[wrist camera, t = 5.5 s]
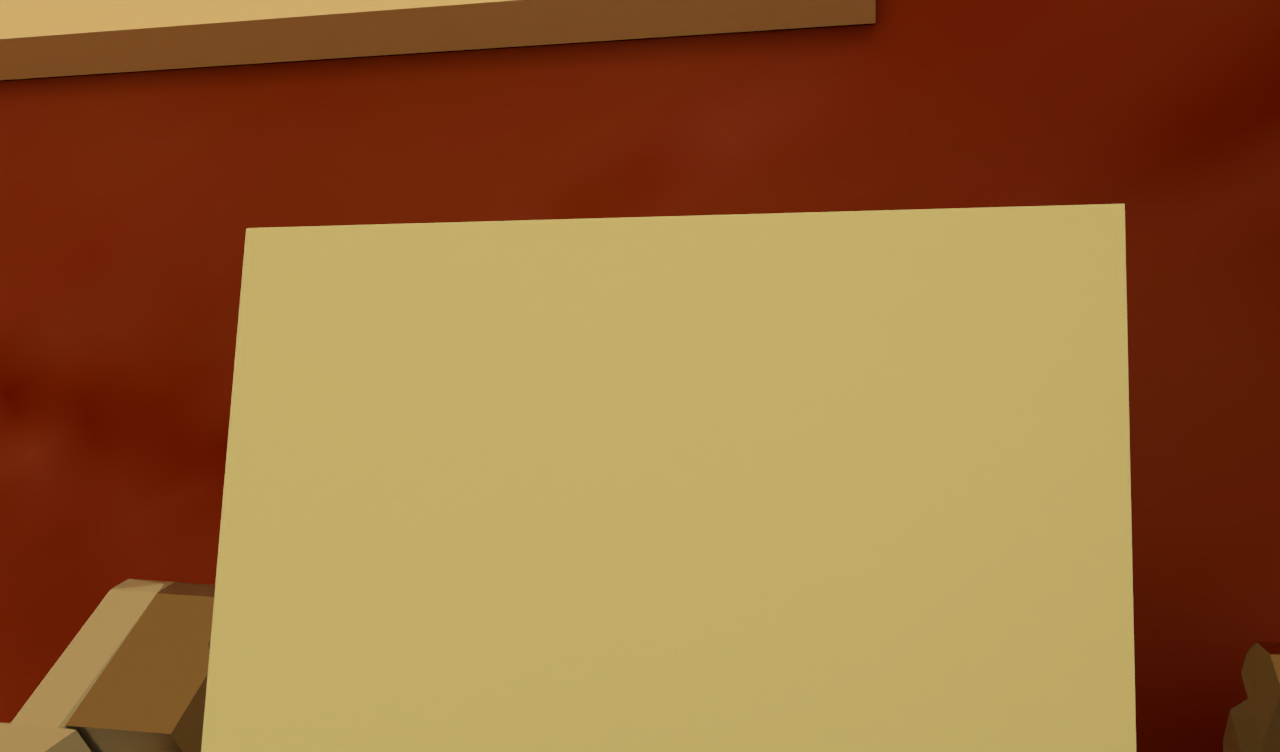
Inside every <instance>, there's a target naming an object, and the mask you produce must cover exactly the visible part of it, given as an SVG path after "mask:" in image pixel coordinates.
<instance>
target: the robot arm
mask: <svg viewBox="0 0 1280 752" xmlns="http://www.w3.org/2000/svg"><path fill="white" fill-rule="evenodd" d="M214 595H215V585H207V584H195V583H183V582H167V581H153V580H138V579H128V580H126V581H124V582H122V583H121V584H119V585H117V586H116V587H114V588H112V589H111V590H110V591H109V592H108V594H107V595H106V596H105V598H104V599H103V600H102V602H101V603H100V604H99V606H98V607H97V608H96V610H95V611H94V612H93V614H92V615H91V616H90V618H89V619H88V620H87V622H86V623H85V624H84V626H83V627H82V628H81V630H80V631H79V632H78V634H77V635H76V636H75V638H74V639H73V640H72V642H71V643H70V644H69V646H68V647H67V648H66V650H65V651H64V652H63V654H62V655H61V656H60V658H59V659H58V660H57V662H56V663H55V664H54V666H53V667H52V668H51V670H50V671H49V673H48V674H47V675H46V677H45V678H44V679H43V681H42V682H41V683H40V685H39V686H38V687H37V689H36V690H35V691H34V693H33V694H32V695H31V697H30V698H29V699H28V701H27V702H26V703H25V705H24V706H23V707H22V709H21V710H20V711H19V713H18V714H17V715H16V717H15V718H14V719H13V721H12V722H11V723H5V722H0V752H201V746H202V734H203V723H204V711H205V699H206V688H207V676H208V665H209V653H210V642H211V630H212V619H213V607H214ZM1241 675H1242V679H1243V683H1244V686H1245V690H1246V693H1247V697H1248V699H1246V700H1245V701H1243V702H1242V703H1240V704H1238V705H1237V706H1235V707H1234V708H1232V709H1230V712H1229V716H1228V720H1227V724H1226V728H1225V732H1224V737H1223V752H1280V643H1275V642H1256V643H1255V644H1254V645H1253V646H1252V647H1251V648H1250V649H1249V650H1248V652H1247V655H1246V658H1245V661H1244V664H1243V667H1242V671H1241Z"/></svg>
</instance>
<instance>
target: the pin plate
mask: <svg viewBox="0 0 1280 752" xmlns="http://www.w3.org/2000/svg"><path fill="white" fill-rule="evenodd" d="M870 23H876V0H0V80H11V79H27V78H42V77H57V76H73V75H88V74H103V73H119V72H134V71H149V70H165V69H180V68H195V67H211V66H226V65H241V64H257V63H272V62H287V61H303V60H318V59H333V58H349V57H364V56H379V55H395V54H410V53H425V52H441V51H456V50H471V49H487V48H502V47H517V46H533V45H548V44H563V43H579V42H594V41H609V40H625V39H640V38H655V37H671V36H686V35H701V34H717V33H732V32H747V31H763V30H778V29H793V28H809V27H824V26H839V25H855V24H870Z"/></svg>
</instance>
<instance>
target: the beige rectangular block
mask: <svg viewBox="0 0 1280 752" xmlns="http://www.w3.org/2000/svg"><path fill="white" fill-rule="evenodd" d="M201 752H1136V711H1135V664H1134V618H1133V571H1132V524H1131V478H1130V431H1129V384H1128V338H1127V291H1126V245H1125V204H1095V205H1059V206H1023V207H988V208H952V209H916V210H880V211H844V212H808V213H772V214H736V215H700V216H664V217H629V218H593V219H557V220H521V221H485V222H449V223H413V224H377V225H341V226H305V227H270V228H246V237H245V249H244V260H243V272H242V283H241V295H240V306H239V318H238V330H237V341H236V353H235V364H234V376H233V387H232V399H231V410H230V422H229V434H228V445H227V457H226V468H225V480H224V491H223V503H222V514H221V526H220V538H219V549H218V561H217V572H216V584H215V595H214V607H213V619H212V630H211V642H210V653H209V665H208V676H207V688H206V699H205V711H204V723H203V734H202V746H201Z"/></svg>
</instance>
